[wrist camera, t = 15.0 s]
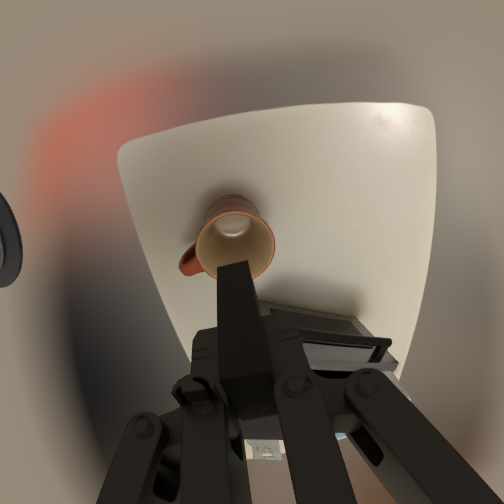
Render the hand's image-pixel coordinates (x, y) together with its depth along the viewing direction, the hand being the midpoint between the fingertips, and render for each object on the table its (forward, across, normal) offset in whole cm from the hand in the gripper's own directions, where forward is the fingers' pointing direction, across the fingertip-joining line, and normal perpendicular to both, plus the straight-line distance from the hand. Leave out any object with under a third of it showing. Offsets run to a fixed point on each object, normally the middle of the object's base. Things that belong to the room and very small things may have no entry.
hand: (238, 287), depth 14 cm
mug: (+26, -2, -6) cm, 27 cm away
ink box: (+26, -8, -67) cm, 72 cm away
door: (+26, +9, -25) cm, 37 cm away
